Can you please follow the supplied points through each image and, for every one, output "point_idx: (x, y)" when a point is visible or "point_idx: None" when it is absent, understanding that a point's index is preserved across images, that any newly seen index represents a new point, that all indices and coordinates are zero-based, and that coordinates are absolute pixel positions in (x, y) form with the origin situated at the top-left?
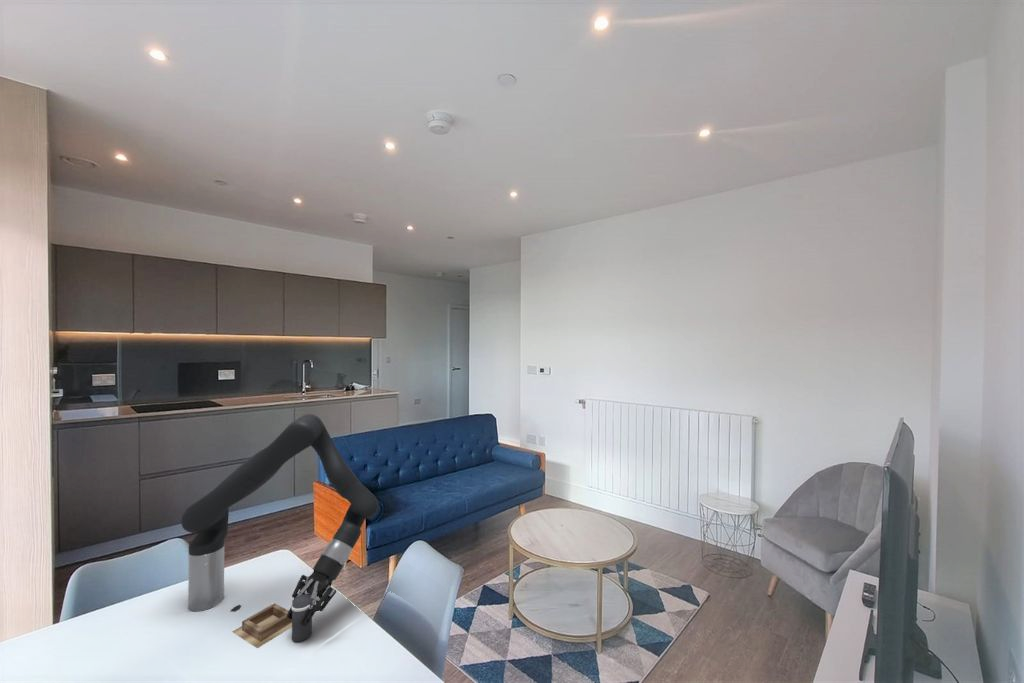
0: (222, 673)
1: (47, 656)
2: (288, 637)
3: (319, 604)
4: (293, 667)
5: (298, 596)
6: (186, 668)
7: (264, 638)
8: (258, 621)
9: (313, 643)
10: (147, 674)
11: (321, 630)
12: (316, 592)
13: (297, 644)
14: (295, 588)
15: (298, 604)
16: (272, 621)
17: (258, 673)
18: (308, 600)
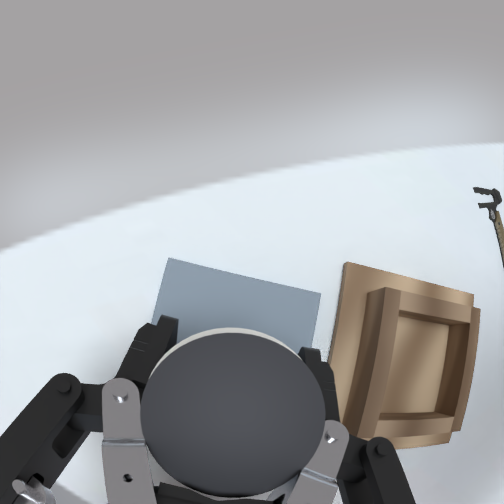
0: (350, 160)
1: None
2: None
3: (39, 394)
4: (140, 233)
5: (306, 440)
6: (438, 164)
7: (366, 307)
8: (448, 359)
9: None
10: (471, 144)
11: None
12: (108, 493)
13: None
14: (406, 484)
15: (200, 344)
16: (413, 389)
17: (242, 181)
18: (155, 423)
